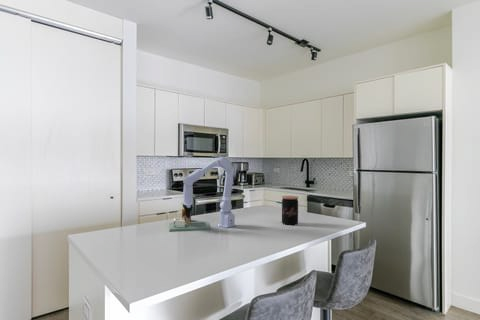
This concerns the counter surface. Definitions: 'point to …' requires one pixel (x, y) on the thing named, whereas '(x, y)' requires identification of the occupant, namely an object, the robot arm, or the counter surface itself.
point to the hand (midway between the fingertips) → (187, 217)
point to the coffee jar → (290, 210)
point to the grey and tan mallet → (187, 221)
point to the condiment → (185, 215)
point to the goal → (179, 222)
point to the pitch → (191, 226)
